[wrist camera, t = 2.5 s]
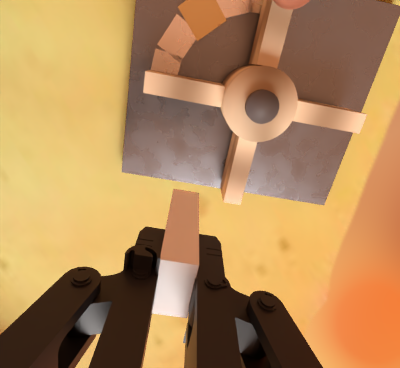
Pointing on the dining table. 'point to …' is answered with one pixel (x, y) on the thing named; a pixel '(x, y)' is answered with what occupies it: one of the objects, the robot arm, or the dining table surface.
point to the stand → (238, 57)
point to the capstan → (255, 98)
